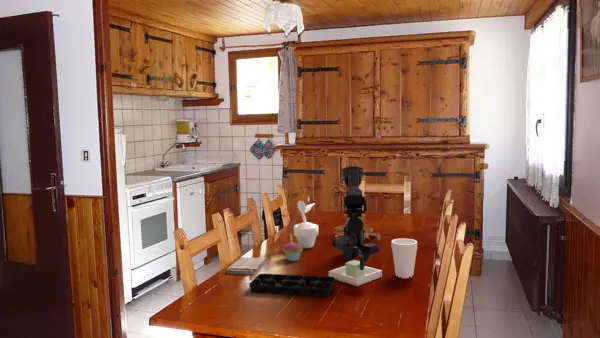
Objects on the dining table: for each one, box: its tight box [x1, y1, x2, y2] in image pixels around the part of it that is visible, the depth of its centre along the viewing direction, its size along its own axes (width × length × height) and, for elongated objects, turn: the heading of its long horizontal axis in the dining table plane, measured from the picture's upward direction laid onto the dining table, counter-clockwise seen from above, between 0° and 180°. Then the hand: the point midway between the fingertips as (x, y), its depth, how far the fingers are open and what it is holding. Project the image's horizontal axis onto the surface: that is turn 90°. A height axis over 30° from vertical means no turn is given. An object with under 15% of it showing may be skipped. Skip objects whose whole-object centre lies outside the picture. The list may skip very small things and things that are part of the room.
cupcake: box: [282, 233, 304, 262], centre depth 212 cm, size 9×8×12 cm
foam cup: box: [390, 237, 418, 279], centre depth 186 cm, size 10×9×13 cm
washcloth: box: [226, 257, 268, 276], centre depth 202 cm, size 12×18×3 cm, turn 169°
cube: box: [344, 259, 365, 278], centre depth 186 cm, size 5×5×5 cm
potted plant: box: [293, 194, 319, 249], centre depth 232 cm, size 13×12×25 cm
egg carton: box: [249, 273, 336, 298], centre depth 175 cm, size 18×30×4 cm, turn 89°
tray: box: [328, 265, 383, 287], centre depth 186 cm, size 14×14×2 cm
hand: (355, 268), depth 186 cm, fingers open, 6 cm apart
